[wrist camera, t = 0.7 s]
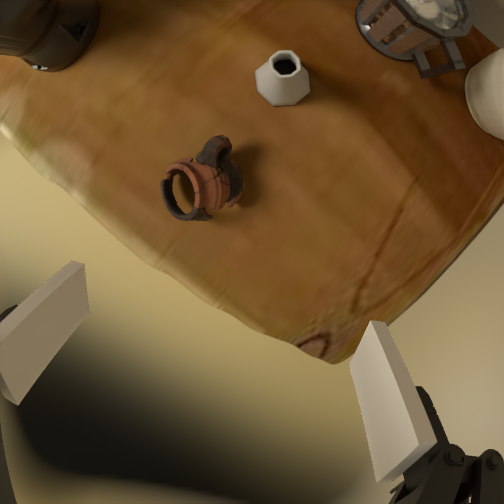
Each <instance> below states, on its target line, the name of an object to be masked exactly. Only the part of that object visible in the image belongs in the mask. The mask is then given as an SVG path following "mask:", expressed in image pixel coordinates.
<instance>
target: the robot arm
mask: <svg viewBox="0 0 504 504" xmlns="http://www.w3.org/2000/svg"><path fill="white" fill-rule="evenodd" d="M98 22H99V6H98V4H97V2H96V0H0V55H9V56H17V57H20V58H21V59H22V60H24V61H25V62H26V63H27V64H29V65H30V66H31V67H33V68H34V69H36V70H39V71H45V72H55V71H58V70H61V69H63V68H65V67H67V66H68V65H70V64H71V63H72V62H74V61H75V60H76V59H77V58H78V57H79V56H80V55H81V54H82V53H83V51H84V50H85V49H86V47H87V46H88V45H89V43H90V41H91V40H92V38H93V36H94V34H95V31H96V29H97V26H98ZM88 314H89V304H88V297H87V287H86V277H85V265H84V264H83V263H79V262H75V261H71V262H69V263H68V264H67V265H66V266H64V267H63V268H62V269H61V270H60V271H58V272H57V273H56V274H55V275H53V276H52V277H51V278H50V279H49V280H47V281H46V282H45V283H44V284H43V285H42V286H40V287H39V288H38V289H37V290H36V291H35V292H33V293H32V294H31V295H30V296H29V297H28V298H27V299H26V300H24V301H23V302H22V303H21V304H20V305H19V306H18V305H15V306H13V307H10V308H8V309H6V310H5V311H4V312H3V313H2V314H1V315H0V390H1V391H2V393H3V395H4V397H5V398H7V399H8V400H10V401H11V402H13V403H15V404H16V405H19V403H20V402H21V401H22V399H23V398H24V396H25V395H26V393H27V392H28V390H29V389H30V388H31V386H32V385H33V384H34V382H35V381H36V380H37V378H38V377H39V375H40V374H41V373H42V372H43V370H44V369H45V368H46V366H47V365H48V363H49V362H50V361H51V360H52V358H53V357H54V356H55V354H56V353H57V352H58V351H59V349H60V348H61V347H62V346H63V344H64V343H65V342H66V340H67V339H68V338H69V337H70V336H71V334H72V333H73V332H74V331H75V329H76V328H77V327H78V326H79V324H80V323H81V322H82V321H83V320H84V319H85V317H86V316H87V315H88ZM349 366H350V370H351V374H352V378H353V381H354V385H355V389H356V393H357V397H358V401H359V405H360V409H361V413H362V417H363V422H364V426H365V430H366V435H367V439H368V444H369V448H370V453H371V458H372V463H373V467H374V472H375V477H376V482H377V483H380V482H388V481H394V480H395V479H397V478H398V477H399V476H400V475H401V474H403V476H404V481H403V482H401V483H400V484H399V485H397V486H396V487H395V488H393V489H392V490H391V491H390V493H391V494H392V493H393V492H395V491H396V490H397V491H396V492H395V494H394V496H393V497H392V499H391V501H390V503H389V504H504V460H503V458H502V456H501V454H499V452H498V451H496V450H494V449H488V450H486V451H485V452H484V453H482V454H481V455H480V456H479V457H476V456H468V455H465V453H464V451H463V450H462V449H461V448H460V447H459V446H457V445H454V444H450V443H449V441H448V439H447V436H446V434H445V431H444V429H443V426H442V424H441V422H440V420H439V417H438V415H437V412H436V410H435V407H433V403H432V401H431V398H430V396H429V395H428V393H427V392H426V391H425V390H424V389H423V388H422V387H421V386H415V385H414V383H413V381H412V378H411V376H410V374H409V372H408V370H407V367H406V365H405V363H404V361H403V359H402V357H401V355H400V352H399V350H398V348H397V346H396V344H395V342H394V340H393V338H392V336H391V334H390V332H389V330H388V328H387V326H386V324H385V322H379V321H372V320H370V322H369V324H368V327H367V329H366V331H365V333H364V335H363V337H362V339H361V342H360V344H359V346H358V348H357V350H356V352H355V354H354V356H353V358H352V360H351V362H350V364H349ZM469 497H471V503H469ZM0 504H17V503H16V500H15V496H14V492H13V488H12V484H11V481H10V476H9V472H8V467H7V462H6V457H5V452H4V446H3V440H2V433H1V425H0Z"/></svg>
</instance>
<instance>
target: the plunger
mask: <svg viewBox="0 0 504 504" xmlns="http://www.w3.org/2000/svg"><path fill="white" fill-rule="evenodd" d="M405 1H406V2H407V3H408V4H409V5H410V6H411V7H412V8H413V10H414V11H415V12H416V13H417V14H418V15H419V16H420V17H422V18H423V19H425V20H427V21H429V22H431V23H433V24H435V25H436V26H438V27H440V28H442V29H450V28H451V27H453V26H454V25H455V23H456V21H457V8H456V5H455V2H454V0H405Z"/></svg>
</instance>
